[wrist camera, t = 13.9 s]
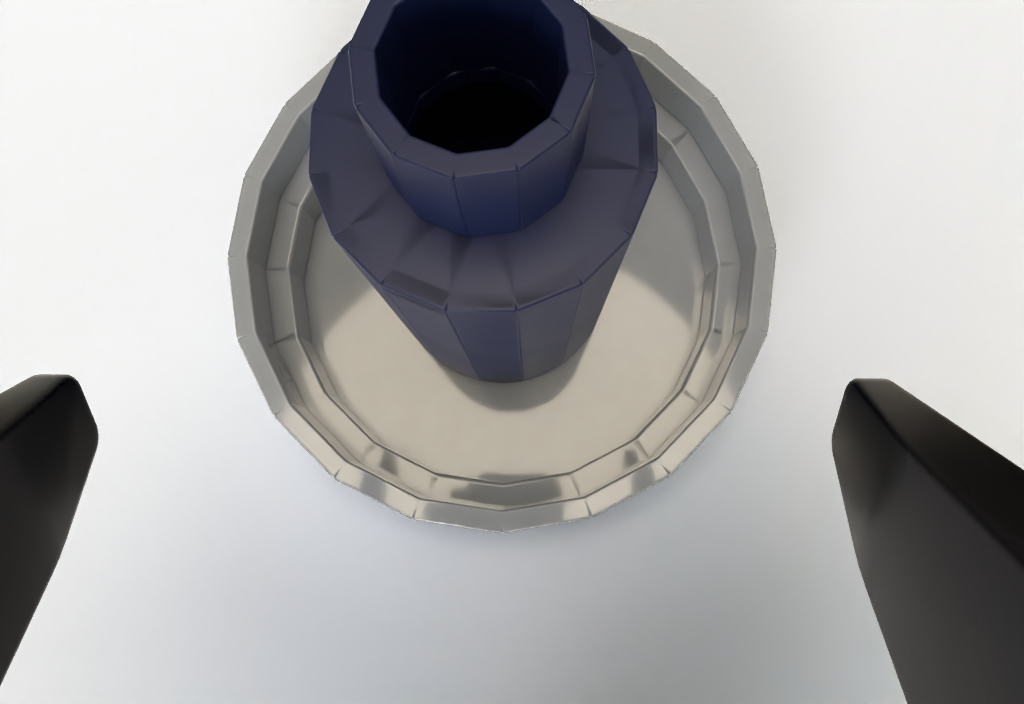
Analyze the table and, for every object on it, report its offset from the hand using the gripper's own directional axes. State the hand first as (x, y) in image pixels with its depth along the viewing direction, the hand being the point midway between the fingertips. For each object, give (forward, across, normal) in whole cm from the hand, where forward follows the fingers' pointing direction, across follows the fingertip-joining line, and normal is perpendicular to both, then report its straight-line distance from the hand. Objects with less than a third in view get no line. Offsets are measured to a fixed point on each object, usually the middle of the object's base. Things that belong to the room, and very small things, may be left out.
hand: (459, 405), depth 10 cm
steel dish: (+12, 0, +6) cm, 13 cm away
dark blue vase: (+12, 0, +5) cm, 13 cm away
